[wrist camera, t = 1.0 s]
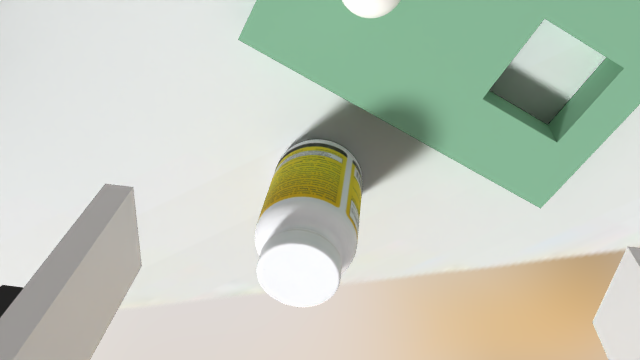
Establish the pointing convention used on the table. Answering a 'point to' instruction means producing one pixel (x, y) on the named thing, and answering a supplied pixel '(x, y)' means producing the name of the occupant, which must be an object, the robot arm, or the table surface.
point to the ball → (370, 7)
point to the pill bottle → (309, 223)
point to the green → (463, 76)
